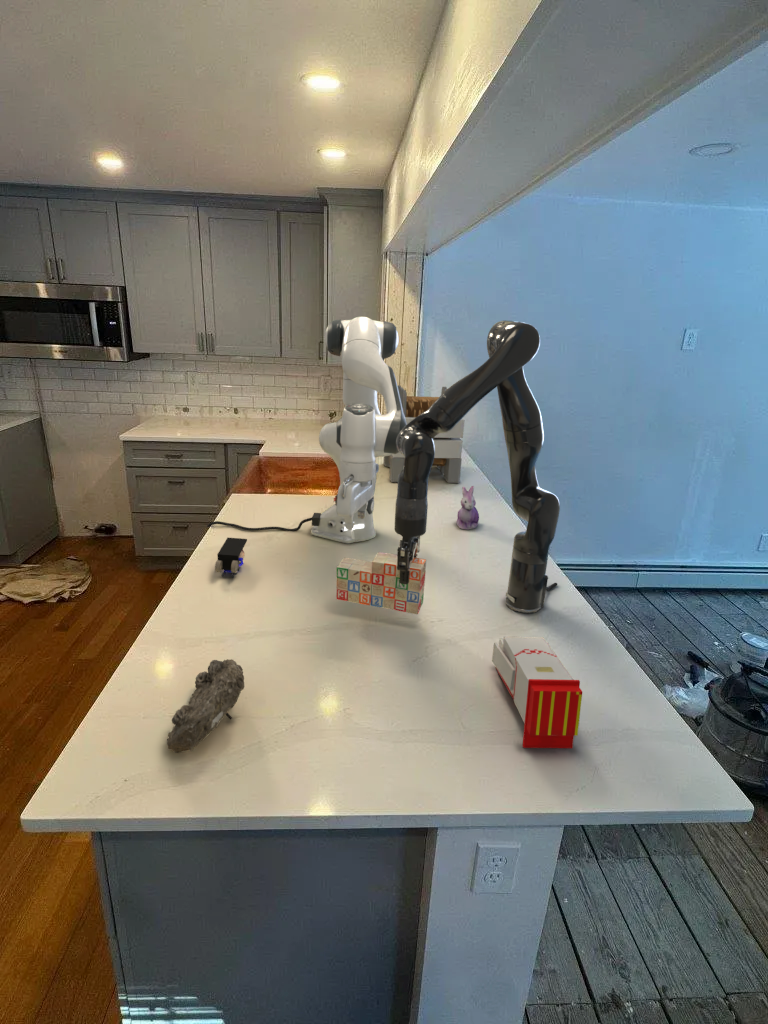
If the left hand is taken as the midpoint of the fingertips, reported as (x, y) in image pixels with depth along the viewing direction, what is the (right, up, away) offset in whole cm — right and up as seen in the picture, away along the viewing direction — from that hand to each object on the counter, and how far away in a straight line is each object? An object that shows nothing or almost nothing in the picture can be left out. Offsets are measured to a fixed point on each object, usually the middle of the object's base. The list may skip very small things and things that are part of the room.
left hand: (355, 523), depth 145 cm
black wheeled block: (-38, -14, +22) cm, 46 cm away
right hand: (+13, -13, -6) cm, 19 cm away
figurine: (+38, -2, +65) cm, 75 cm away
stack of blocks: (+6, -20, -2) cm, 21 cm away
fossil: (-26, -36, -37) cm, 58 cm away
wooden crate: (+25, +22, +130) cm, 134 cm away
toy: (+37, -36, -28) cm, 59 cm away
